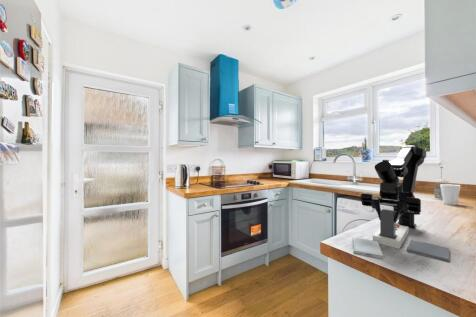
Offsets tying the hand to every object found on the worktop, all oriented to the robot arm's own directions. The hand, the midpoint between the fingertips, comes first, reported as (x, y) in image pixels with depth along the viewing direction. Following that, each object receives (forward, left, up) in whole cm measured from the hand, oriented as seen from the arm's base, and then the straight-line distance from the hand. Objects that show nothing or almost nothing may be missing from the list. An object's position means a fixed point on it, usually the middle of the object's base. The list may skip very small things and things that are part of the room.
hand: (387, 220), depth 75 cm
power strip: (-9, 0, -8) cm, 13 cm away
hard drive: (+10, -4, -9) cm, 15 cm away
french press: (-126, +11, -9) cm, 127 cm away
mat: (-2, +11, -8) cm, 14 cm away
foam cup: (-108, +16, -9) cm, 110 cm away
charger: (-1, 0, -7) cm, 7 cm away
